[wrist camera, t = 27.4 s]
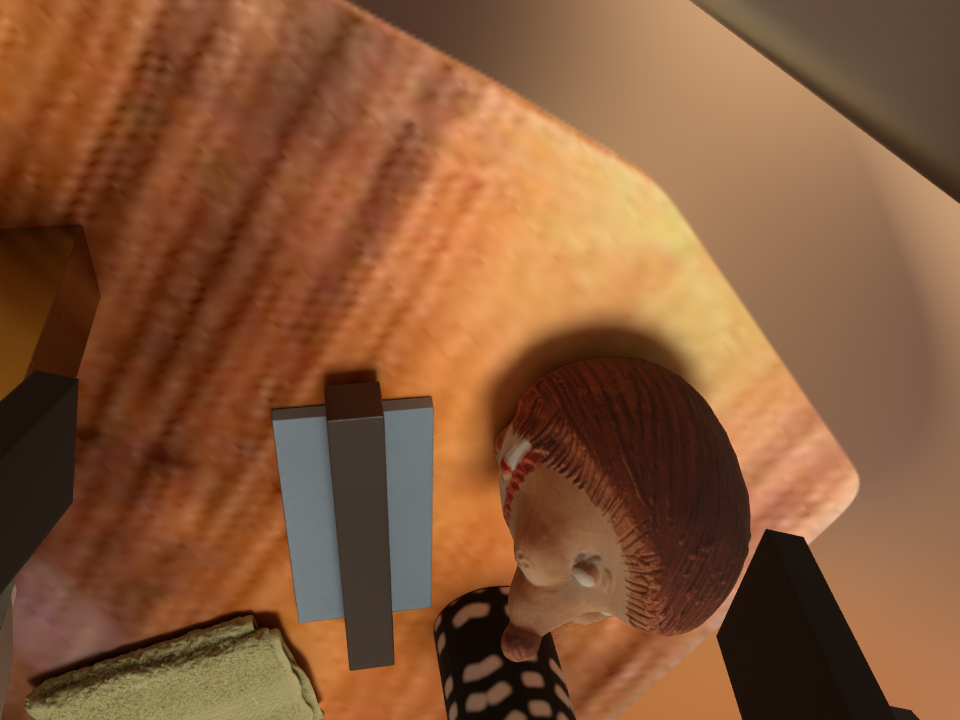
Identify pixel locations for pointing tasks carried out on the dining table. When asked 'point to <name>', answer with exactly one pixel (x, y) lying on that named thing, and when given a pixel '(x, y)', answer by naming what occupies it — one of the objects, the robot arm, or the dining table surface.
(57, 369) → the olive green post
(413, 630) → the dining table surface
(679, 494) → the figurine
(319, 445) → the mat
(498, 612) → the white-spotted black cylinder
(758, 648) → the robot arm
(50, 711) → the washcloth
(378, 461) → the bar
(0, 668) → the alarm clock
